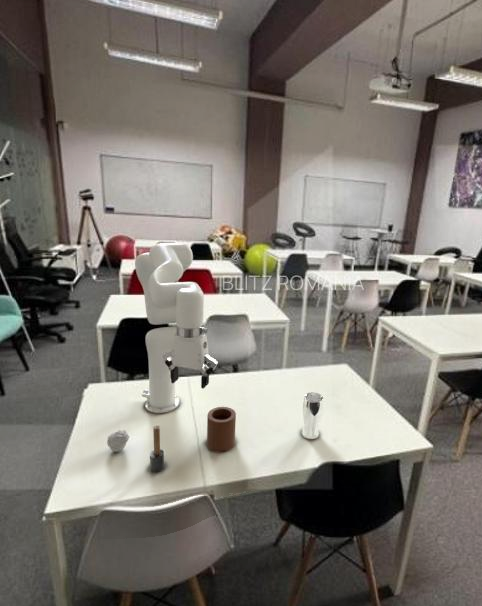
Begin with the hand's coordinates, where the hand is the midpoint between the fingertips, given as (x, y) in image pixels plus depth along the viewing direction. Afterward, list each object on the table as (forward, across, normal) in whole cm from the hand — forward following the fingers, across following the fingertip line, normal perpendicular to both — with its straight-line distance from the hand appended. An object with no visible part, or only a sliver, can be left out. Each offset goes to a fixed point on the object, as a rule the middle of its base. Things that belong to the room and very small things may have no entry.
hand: (189, 383), depth 114 cm
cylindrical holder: (+26, -7, -10) cm, 29 cm away
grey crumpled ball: (+26, +23, +3) cm, 35 cm away
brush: (+26, +7, +7) cm, 28 cm away
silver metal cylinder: (+26, -35, -24) cm, 50 cm away
